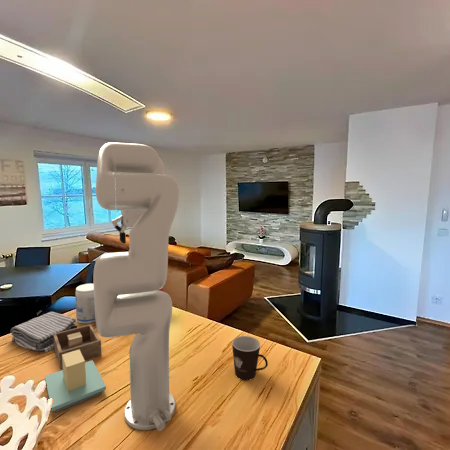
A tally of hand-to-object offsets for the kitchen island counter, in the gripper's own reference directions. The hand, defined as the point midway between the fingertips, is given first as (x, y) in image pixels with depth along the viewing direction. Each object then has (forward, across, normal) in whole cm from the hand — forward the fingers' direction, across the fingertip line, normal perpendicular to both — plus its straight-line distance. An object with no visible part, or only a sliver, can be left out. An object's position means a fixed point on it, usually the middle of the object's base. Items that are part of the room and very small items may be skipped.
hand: (136, 241), depth 106 cm
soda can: (+36, +12, +10) cm, 40 cm away
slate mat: (+36, -26, -20) cm, 49 cm away
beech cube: (+36, -22, +2) cm, 42 cm away
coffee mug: (+36, +17, -45) cm, 60 cm away
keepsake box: (+36, -22, -2) cm, 42 cm away
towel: (+37, -29, +14) cm, 49 cm away
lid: (+35, -26, -20) cm, 48 cm away
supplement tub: (+36, -13, +22) cm, 45 cm away
